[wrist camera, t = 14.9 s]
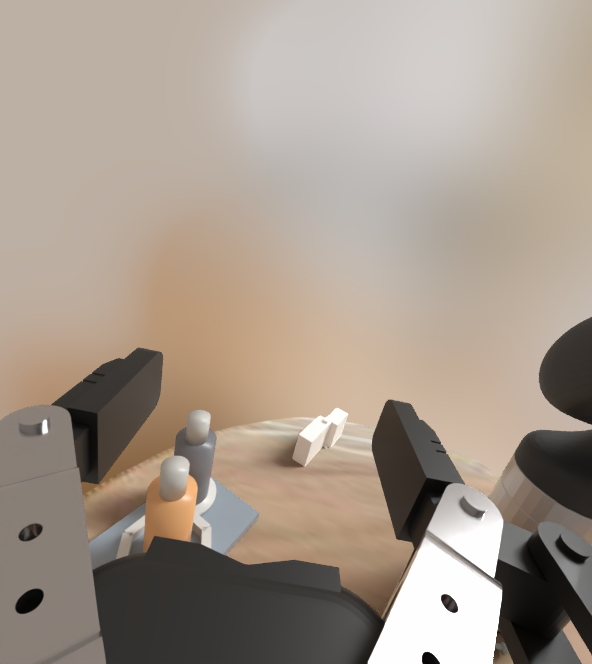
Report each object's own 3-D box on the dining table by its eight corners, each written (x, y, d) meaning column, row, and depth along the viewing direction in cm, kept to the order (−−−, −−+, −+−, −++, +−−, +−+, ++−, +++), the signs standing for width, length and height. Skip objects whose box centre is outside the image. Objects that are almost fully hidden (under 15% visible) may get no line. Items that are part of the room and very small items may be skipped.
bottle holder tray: (194, 469, 44) (205, 390, 40) (257, 518, 40) (278, 435, 35) (66, 563, 31) (60, 461, 26) (139, 653, 26) (147, 549, 22)
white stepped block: (291, 481, 47) (299, 450, 45) (270, 428, 57) (277, 402, 55) (375, 470, 53) (386, 443, 51) (344, 424, 62) (352, 400, 60)
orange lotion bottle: (169, 525, 36) (178, 441, 31) (197, 551, 34) (211, 465, 29) (132, 557, 32) (137, 466, 28) (162, 588, 30) (171, 495, 26)
